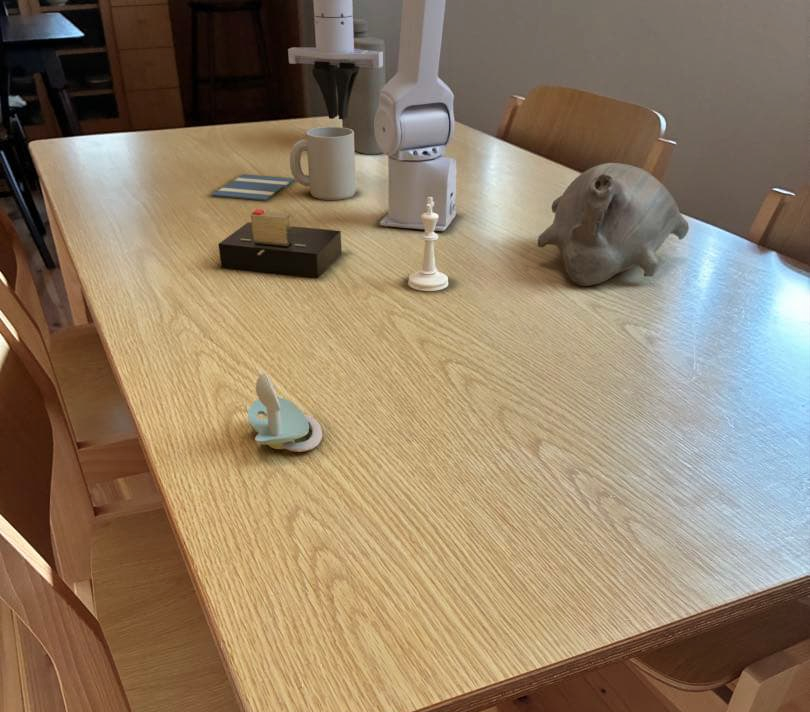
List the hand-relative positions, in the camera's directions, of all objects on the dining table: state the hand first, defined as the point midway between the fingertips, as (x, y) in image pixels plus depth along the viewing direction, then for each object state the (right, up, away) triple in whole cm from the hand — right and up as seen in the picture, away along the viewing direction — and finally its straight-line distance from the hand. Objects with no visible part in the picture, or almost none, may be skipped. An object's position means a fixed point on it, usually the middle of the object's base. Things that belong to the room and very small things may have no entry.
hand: (338, 117), depth 127 cm
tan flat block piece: (-6, -30, -27) cm, 41 cm away
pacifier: (0, -58, -57) cm, 82 cm away
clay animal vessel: (+35, -31, -23) cm, 53 cm away
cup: (-2, -12, 0) cm, 12 cm away
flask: (+3, +8, +25) cm, 26 cm away
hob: (-6, -31, -24) cm, 40 cm away
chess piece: (+13, -36, -29) cm, 48 cm away
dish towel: (-14, -10, +2) cm, 17 cm away
